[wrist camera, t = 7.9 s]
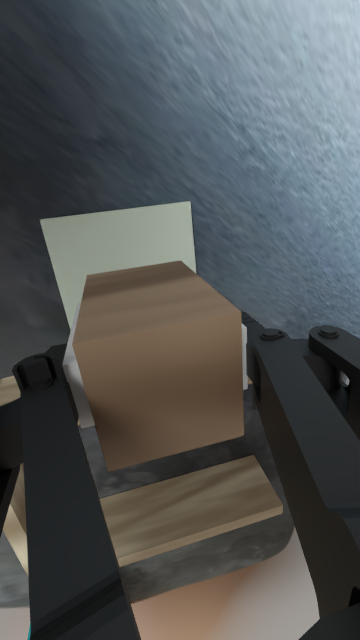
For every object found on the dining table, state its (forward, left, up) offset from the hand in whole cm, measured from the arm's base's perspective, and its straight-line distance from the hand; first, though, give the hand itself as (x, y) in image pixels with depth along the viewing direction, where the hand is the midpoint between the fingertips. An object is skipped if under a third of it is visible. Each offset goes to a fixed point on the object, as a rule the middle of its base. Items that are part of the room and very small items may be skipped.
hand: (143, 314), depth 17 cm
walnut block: (0, 0, 0) cm, 0 cm away
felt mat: (0, 0, -7) cm, 7 cm away
